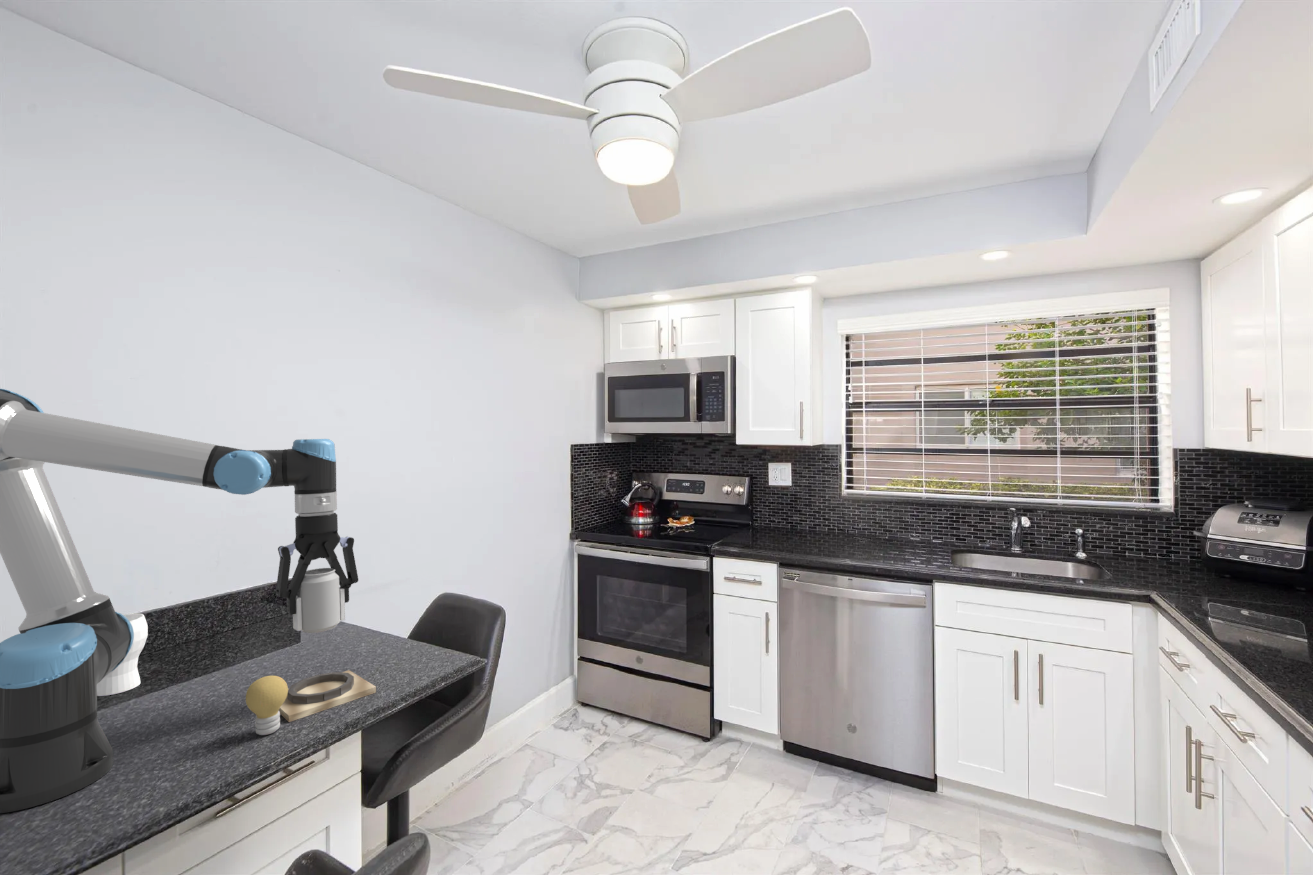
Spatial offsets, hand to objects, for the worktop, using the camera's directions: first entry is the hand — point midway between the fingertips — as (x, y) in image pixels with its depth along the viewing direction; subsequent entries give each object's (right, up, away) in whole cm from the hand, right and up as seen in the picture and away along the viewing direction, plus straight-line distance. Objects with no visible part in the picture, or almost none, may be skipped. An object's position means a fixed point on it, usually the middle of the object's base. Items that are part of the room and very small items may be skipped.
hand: (319, 623), depth 119 cm
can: (0, -1, 0) cm, 1 cm away
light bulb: (-1, -15, -14) cm, 21 cm away
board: (0, -15, 0) cm, 15 cm away
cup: (-48, -17, +7) cm, 51 cm away
